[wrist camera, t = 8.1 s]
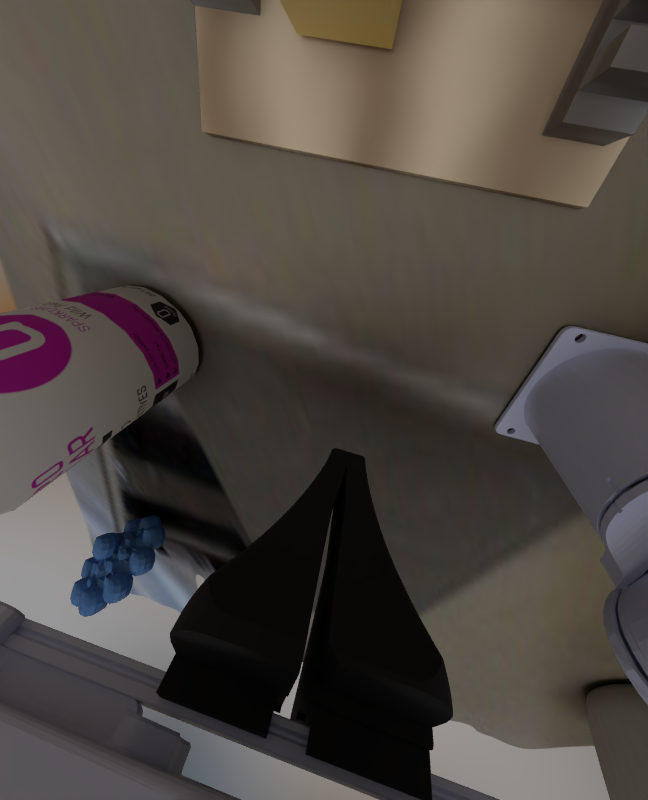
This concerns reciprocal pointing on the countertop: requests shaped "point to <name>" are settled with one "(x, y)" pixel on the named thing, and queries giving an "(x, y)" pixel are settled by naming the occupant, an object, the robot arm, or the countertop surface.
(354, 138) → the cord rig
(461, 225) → the countertop surface
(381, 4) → the sleeve
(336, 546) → the robot arm
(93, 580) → the grapes
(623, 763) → the canister
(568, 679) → the countertop surface
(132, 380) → the supplement can
